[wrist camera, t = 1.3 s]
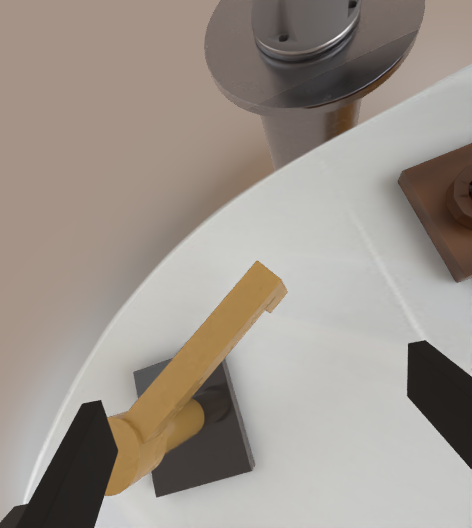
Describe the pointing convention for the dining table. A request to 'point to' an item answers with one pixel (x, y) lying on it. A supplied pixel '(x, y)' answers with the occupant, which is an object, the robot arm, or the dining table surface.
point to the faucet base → (201, 434)
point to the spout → (187, 376)
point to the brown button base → (445, 206)
